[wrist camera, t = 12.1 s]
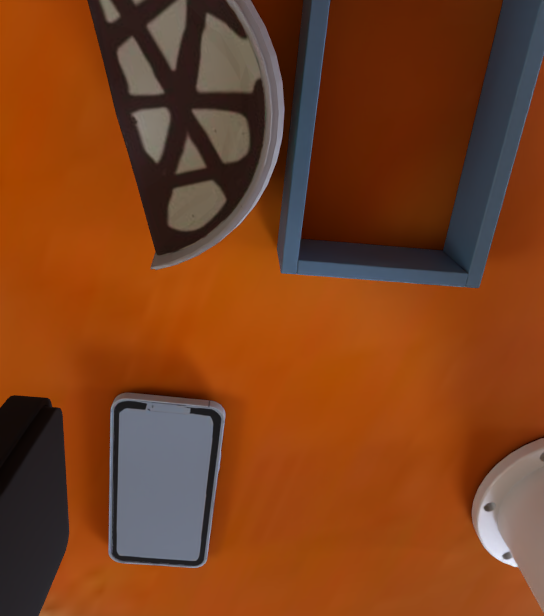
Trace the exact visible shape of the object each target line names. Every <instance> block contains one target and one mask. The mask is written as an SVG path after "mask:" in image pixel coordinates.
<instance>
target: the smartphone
mask: <svg viewBox="0 0 544 616" xmlns="http://www.w3.org/2000/svg"><path fill="white" fill-rule="evenodd" d="M224 423H225V410H224V408H223V407H222V406H221V405H220V404H219V403H217V402H215V401H210V400H200V399H189V398H179V397H169V396H159V395H148V394H138V393H122V394H120V395H118V396H117V397H116V398H115V399H114V401H113V404H112V406H111V413H110V483H109V556H110V557H111V558H112V559H113V560H114V561H116V562H119V563H129V564H143V565H158V566H173V567H188V568H197V567H200V566H202V565H204V564H205V562H206V561H207V555H208V547H209V540H210V532H211V524H212V516H213V509H214V501H215V493H216V485H217V478H218V471H219V467H220V460H221V447H222V439H223V431H224Z"/></svg>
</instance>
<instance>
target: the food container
mask: <svg viewBox="0 0 544 616" xmlns="http://www.w3.org/2000/svg"><path fill="white" fill-rule="evenodd" d="M88 4H89V8H90V12H91V16H92V19H93V23H94V27H95V31H96V35H97V39H98V42H99V46H100V50H101V54H102V58H103V62H104V66H105V70H106V74H107V78H108V82H109V87H110V91H111V95H112V99H113V103H114V107H115V111H116V115H117V119H118V122H119V125H120V128H121V132H122V135H123V138H124V141H125V145H126V148H127V151H128V154H129V158H130V161H131V165H132V168H133V172H134V175H135V179H136V182H137V186H138V189H139V193H140V197H141V200H142V204H143V208H144V211H145V215H146V219H147V222H148V226H149V229H150V233H151V237H152V240H153V244H154V247H155V251H156V252H155V256H154V259H153V262H152V265H151V269H156V270H157V269H161V268H165V267H169V266H173V265H177V264H179V263H181V262H184V261H186V260H189V259H191V258H193V257H196V256H198V255H199V254H201V253H203V252H204V251H206V250H207V249H209V248H211V247H212V246H214V245H215V244H217V243H218V242H219V241H221V240H222V239H223V238H224V237H226V236H227V235H228V234H229V233H230V232H231V231H232V230H233V229H235V228H236V227H237V226H238V225H239V224H240V223H241V222H242V221H243V220H244V219H245V217H246V216H247V215H248V214H249V212H250V211H251V210H252V209H253V208H254V206H255V205H256V204H257V202H258V200H259V198H260V197H261V195H262V193H263V192H264V190H265V188H266V187H267V185H268V183H269V180H270V177H271V175H272V172H273V170H274V167H275V165H276V162H277V159H278V154H279V150H280V145H281V141H282V137H283V124H284V96H283V83H282V78H281V74H280V69H279V65H278V60H277V56H276V52H275V50H274V47H273V45H272V42H271V39H270V37H269V34H268V32H267V29H266V26H265V25H264V23H263V21H262V19H261V18H260V16H259V14H258V12H257V10H256V9H255V7H254V5H253V3H252V2H251V0H88Z"/></svg>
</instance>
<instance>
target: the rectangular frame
mask: <svg viewBox="0 0 544 616" xmlns="http://www.w3.org/2000/svg"><path fill="white" fill-rule="evenodd" d="M329 7H330V0H303V9H302V18H301V28H300V37H299V46H298V56H297V65H296V75H295V84H294V94H293V103H292V112H291V122H290V131H289V141H288V150H287V160H286V169H285V178H284V188H283V197H282V207H281V216H280V226H279V235H278V244H277V252H278V258H279V263H280V269H281V273H286V274H296V273H297V274H300V275H313V276H326V277H339V278H352V279H365V280H378V281H391V282H404V283H417V284H430V285H443V286H456V287H470V288H479V286H480V283H481V279H482V276H483V272H484V268H485V265H486V261H487V258H488V254H489V250H490V247H491V243H492V240H493V236H494V232H495V229H496V225H497V222H498V218H499V214H500V211H501V207H502V204H503V200H504V196H505V193H506V189H507V186H508V182H509V178H510V175H511V171H512V168H513V164H514V160H515V157H516V153H517V150H518V146H519V142H520V139H521V135H522V132H523V128H524V124H525V121H526V117H527V114H528V110H529V106H530V103H531V99H532V96H533V92H534V88H535V85H536V81H537V78H538V74H539V70H540V67H541V63H542V60H543V56H544V0H503V4H502V8H501V12H500V16H499V20H498V24H497V29H496V33H495V37H494V41H493V45H492V49H491V54H490V58H489V62H488V66H487V70H486V74H485V79H484V83H483V87H482V91H481V95H480V99H479V103H478V108H477V112H476V116H475V120H474V124H473V128H472V133H471V137H470V141H469V145H468V149H467V153H466V158H465V162H464V166H463V170H462V174H461V178H460V182H459V187H458V191H457V195H456V199H455V203H454V207H453V212H452V216H451V220H450V224H449V228H448V232H447V237H446V241H445V245H444V249H443V251H442V250H431V249H419V248H406V247H394V246H382V245H370V244H358V243H346V242H334V241H322V240H310V239H301V232H302V224H303V216H304V208H305V200H306V192H307V184H308V176H309V168H310V160H311V152H312V144H313V136H314V128H315V119H316V111H317V103H318V95H319V87H320V79H321V71H322V63H323V55H324V47H325V39H326V31H327V23H328V15H329Z"/></svg>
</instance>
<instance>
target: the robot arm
mask: <svg viewBox="0 0 544 616" xmlns="http://www.w3.org/2000/svg"><path fill="white" fill-rule="evenodd" d="M472 521H473V526H474V528H475V531H476V533H477V535H478V537H479V539H480V541H481V543H482V544H483V546H484V548H485V549H486V550H487V551H488V552H489V553H490V554H491V555H492V556H493V557H495V558H496V559H498V560H499V561H501V562H503V563H506V564H509V565H511V566H514V567H519V569H520V571H521V573H522V574H523V576H524V578H525V580H526V582H527V584H528V585H529V587H530V589H531V591H532V593H533V594H534V596H535V598H536V600H537V602H538V603H539V605H540V607H541V609H542V611H543V612H544V438H541V439H539V440H536V441H534V442H531V443H529V444H526V445H524V446H523V447H521V448H519V449H517V450H516V451H514V452H512V453H510V454H509V455H508V456H507V457H505V458H504V459H503V460H502V461H500V462H499V463H498V464H497V465H496V466H495V467H494V468H493V469H492V470H491V471H490V472H489V473H488V474H487V475H486V477H485V478H484V480H483V481H482V483H481V485H480V486H479V488H478V490H477V493H476V495H475V498H474V500H473V506H472ZM68 537H69V519H68V502H67V485H66V468H65V450H64V433H63V416H62V411H61V409H60V408H56V407H52V404H51V401H50V399H48V398H41V397H28V396H15V395H14V396H11V397H9V398H8V399H7V400H6V402H5V403H4V404H3V405H2V407H1V408H0V616H39V613H40V611H41V609H42V606H43V604H44V601H45V599H46V597H47V594H48V592H49V589H50V587H51V585H52V582H53V580H54V578H55V575H56V573H57V570H58V568H59V566H60V563H61V561H62V558H63V556H64V553H65V551H66V547H67V543H68Z"/></svg>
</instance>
